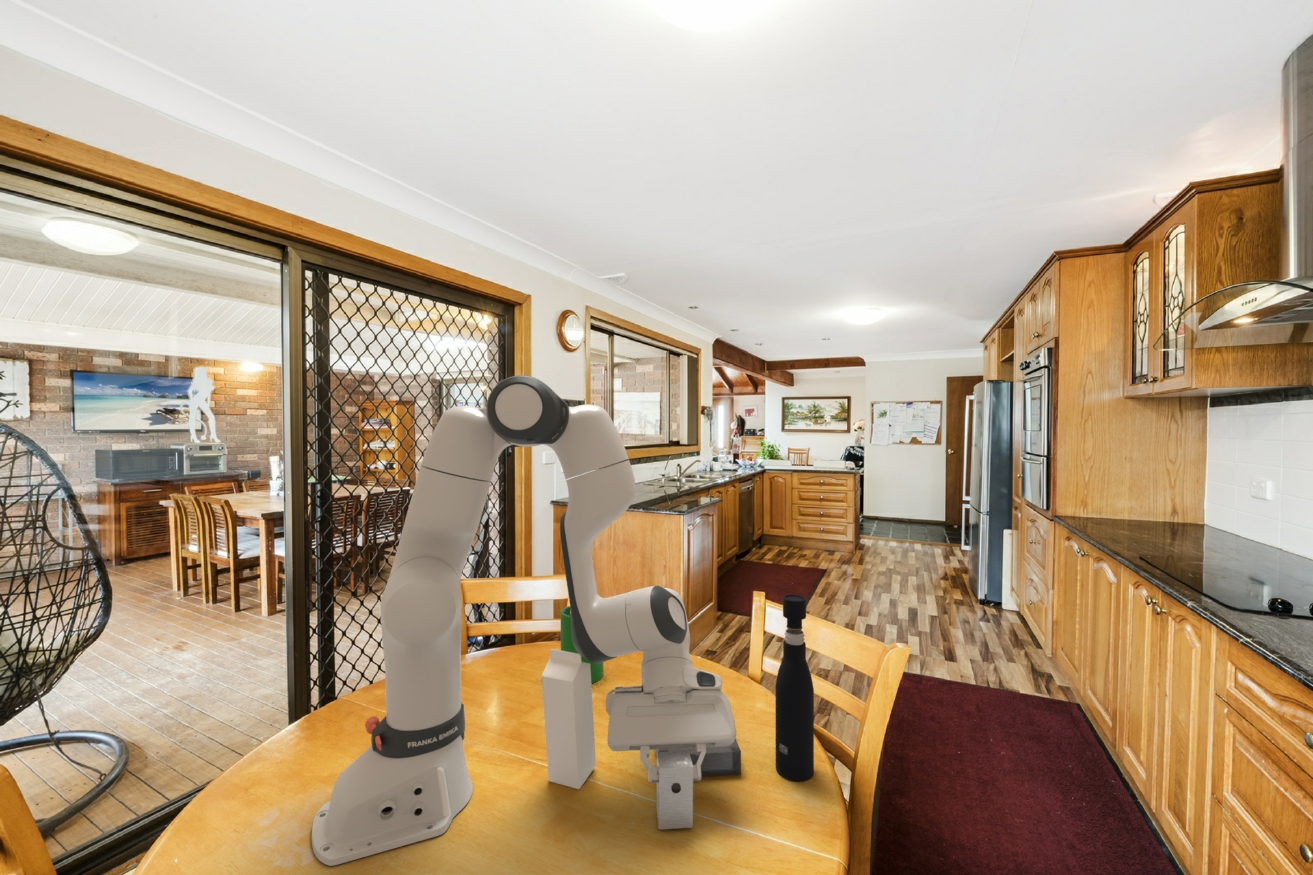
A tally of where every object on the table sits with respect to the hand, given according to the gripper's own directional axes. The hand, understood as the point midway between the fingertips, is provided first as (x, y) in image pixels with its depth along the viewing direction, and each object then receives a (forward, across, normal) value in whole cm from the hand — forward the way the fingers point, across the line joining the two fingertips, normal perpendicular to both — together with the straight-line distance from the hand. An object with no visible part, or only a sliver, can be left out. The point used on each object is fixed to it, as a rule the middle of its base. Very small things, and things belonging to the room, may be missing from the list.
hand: (674, 781), depth 80 cm
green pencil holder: (-30, -16, +40) cm, 53 cm away
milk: (-5, -16, +14) cm, 22 cm away
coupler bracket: (-8, +6, +17) cm, 20 cm away
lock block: (+4, 0, +5) cm, 6 cm away
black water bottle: (-3, +22, +12) cm, 26 cm away
